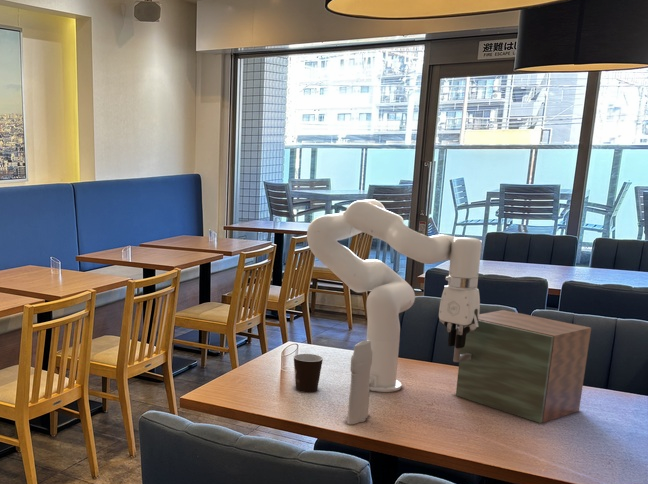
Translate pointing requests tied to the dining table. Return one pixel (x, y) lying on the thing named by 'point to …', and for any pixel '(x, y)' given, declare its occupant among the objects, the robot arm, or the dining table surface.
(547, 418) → the cupboard
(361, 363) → the tall pale column
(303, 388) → the coffee mug
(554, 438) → the dining table surface
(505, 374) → the cupboard door
